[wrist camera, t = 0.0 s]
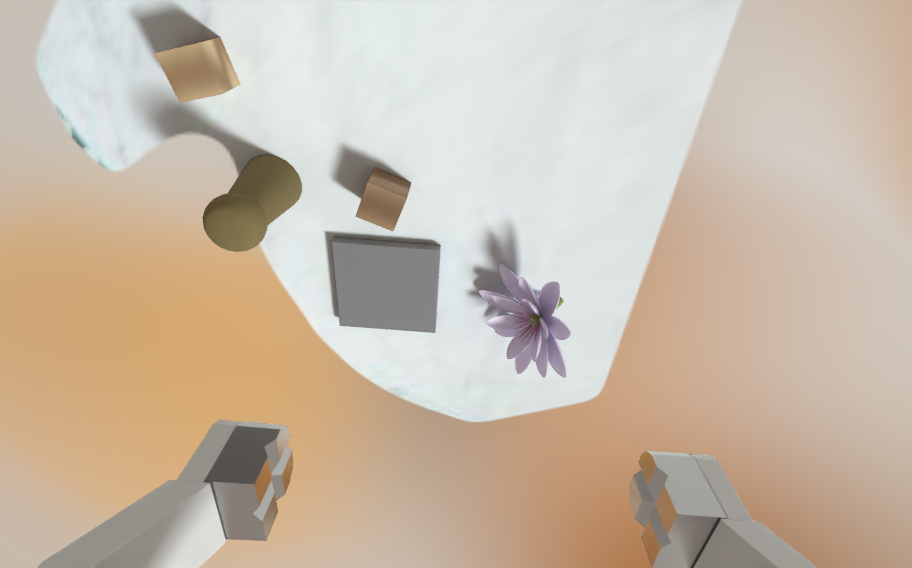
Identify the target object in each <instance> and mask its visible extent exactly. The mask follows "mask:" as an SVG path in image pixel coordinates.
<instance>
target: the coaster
mask: <svg viewBox="0 0 912 568" xmlns="http://www.w3.org/2000/svg"><path fill="white" fill-rule="evenodd" d="M440 247H441V245H430V244H417V243H404V242H391V241H378V240H365V239H352V238H339V237H334V239H333V241H332V249H333V260H334V270H335V281H336V291H337V301H338V312H339V322H340V326H351V327H365V328H378V329H391V330H405V331H418V332H432V333H435V330H436V315H437V298H438V281H439V264H440Z"/></svg>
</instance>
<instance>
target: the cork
mask: <svg viewBox="0 0 912 568" xmlns="http://www.w3.org/2000/svg"><path fill="white" fill-rule="evenodd" d="M301 192H302V183H301V180H300V177H299V175H298V173H297V172H296V171H295V169H294V168H293V167H292V166H291V165H290V164H289V163H288V162H287V161H285V160H283V159H281V158H279V157H277V156H273V155H259V156H257V157H255V158H253V159H251V160H250V161H249V162H248V164H247V165H246V166H245V168H244V169H243V171H242V172H241V174H240V175H239V177H238V178H237V180H236V182H235V183H234V185H233V186H232V188H231V189H230V191H229V192H228V194H224V195H221V196H219V197H217V198H215V199H213V200H212V201H211V202H210V203H209V204H208V206H207V207H206V209H205V211H204V215H203V225H204V229H205V231H206V233H207V235H208V236H209V238H210V239H211V240H212V241H213V242H214V243H215V244H217V245H218V246H220V247H221V248H224V249H226V250H230V251H235V252H236V251H247V250H249V249H251V248H254V247H256V246H257V245H258V244H259V243H260V242H261V241H262V240H263V238H264V236H265V233H266V231H267V225H269V224H270V223H271V222H273V221H274V220H275V219H276V218H278V217H279V216H280V215H281V214H283V213H284V212H285V211H286V210H288V209H289V208H290V207H292V206H293V205H294V204H295V203H296V202H297V201H298V200H299V198H300V195H301Z"/></svg>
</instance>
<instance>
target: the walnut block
mask: <svg viewBox="0 0 912 568" xmlns="http://www.w3.org/2000/svg"><path fill="white" fill-rule="evenodd" d="M410 185H411V182H408V181H406V180H404V179H401V178H399V177H397V176H394V175H392V174H390V173H387V172H385V171H383V170H380V169H378V168H376V167H375V168H374V170H373V172H372V174H371V176H370V178H369V180H368V182H367V185H366V188H365V191H364V194H363V197H362V199H361V202H360V205H359V208H358V211H357V214H356V217H358V218H361V219H363V220H366V221H368V222H371V223H373V224H376V225H378V226H381V227H383V228H386V229H388V230H391V231H393V230H394V228H395V226H396V223H397V221H398V218H399V216H400V214H401V211H402V209H403V206H404V204H405V202H406V199H407V196H408V192H409V189H410Z"/></svg>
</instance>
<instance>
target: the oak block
mask: <svg viewBox="0 0 912 568" xmlns="http://www.w3.org/2000/svg"><path fill="white" fill-rule="evenodd" d="M155 55H156V57H157V59H158V60H159V62H160V64H161V66H162V68H163V70H164V72H165V74H166V76H167V78H168V80H169V82H170V84H171V86H172V88H173V90H174V92H175V94H176V96H177V98H178V100H179V102H180V103H182V102H187V101H191V100H196V99H201V98H206V97H210V96H215V95H220V94H223V93H225V92H227V91H229V90H231V89H233V88H234V87H236V86H238V85H240V82H239V80H238V77H237V75H236V73H235V70H234V68H233V66H232V63H231V61H230V59H229V56H228V54H227V52H226V49H225V47H224V45H223V42H222V40H221V38H220V37H218V38H214V39H209V40H205V41H201V42H196V43H192V44H188V45H183V46H179V47H176V48H172V49H168V50H165V51H161V52H158V53H155Z"/></svg>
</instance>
